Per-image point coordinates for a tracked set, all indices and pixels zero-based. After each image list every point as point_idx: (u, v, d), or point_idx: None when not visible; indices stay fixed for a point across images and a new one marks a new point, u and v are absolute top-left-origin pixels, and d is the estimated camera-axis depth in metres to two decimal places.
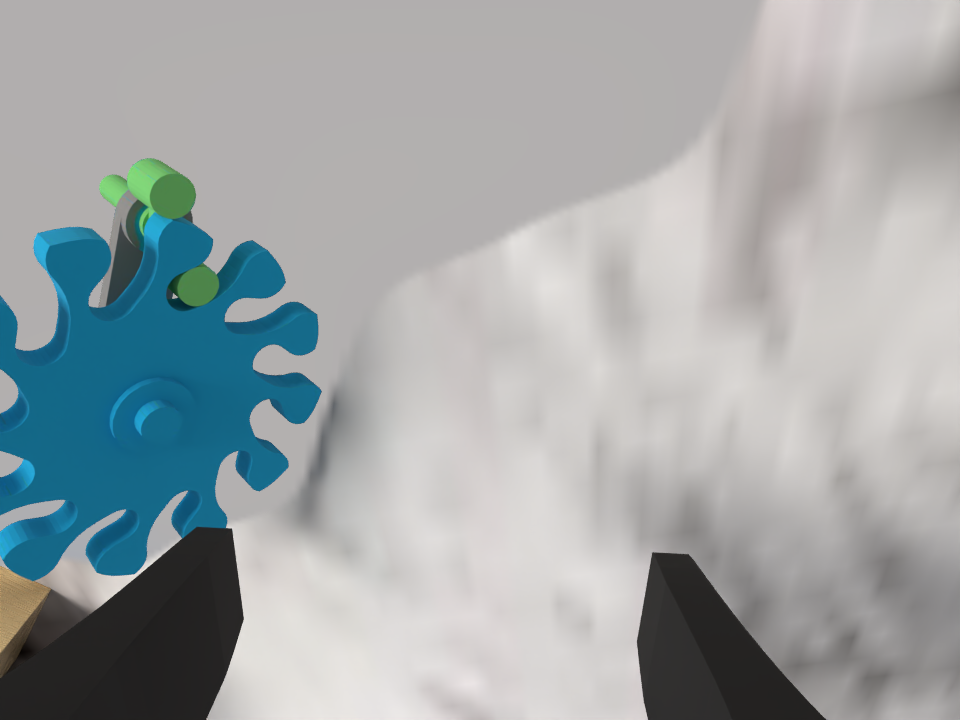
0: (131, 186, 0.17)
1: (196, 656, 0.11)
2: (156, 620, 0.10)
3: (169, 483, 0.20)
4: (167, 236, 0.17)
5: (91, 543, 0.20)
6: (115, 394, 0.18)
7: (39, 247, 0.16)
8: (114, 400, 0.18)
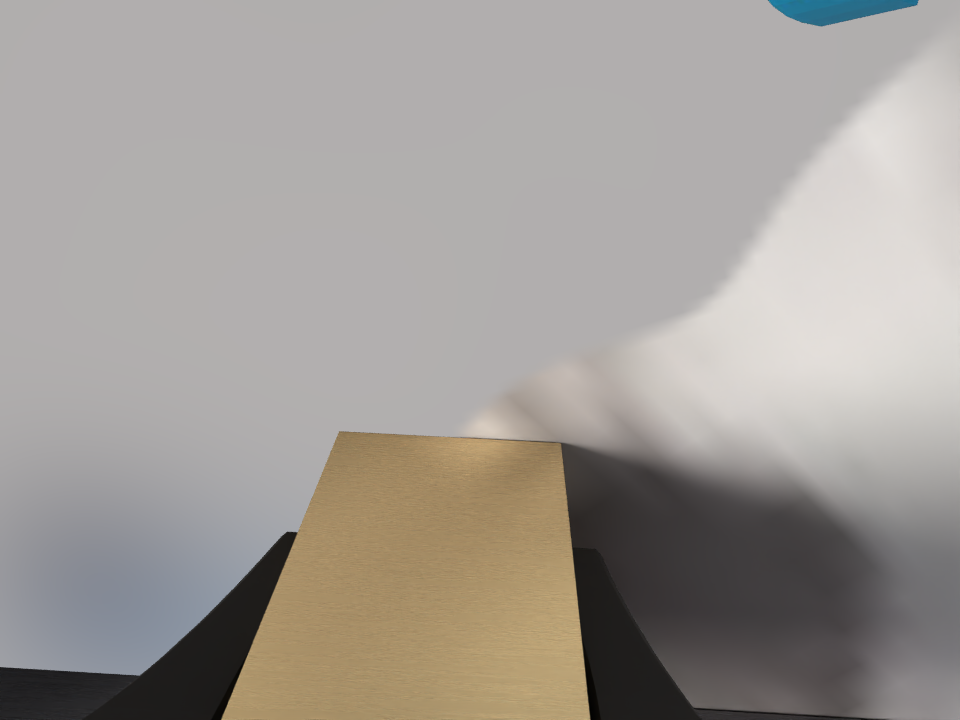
0: None
1: None
2: None
3: None
4: None
5: None
6: None
7: None
8: None
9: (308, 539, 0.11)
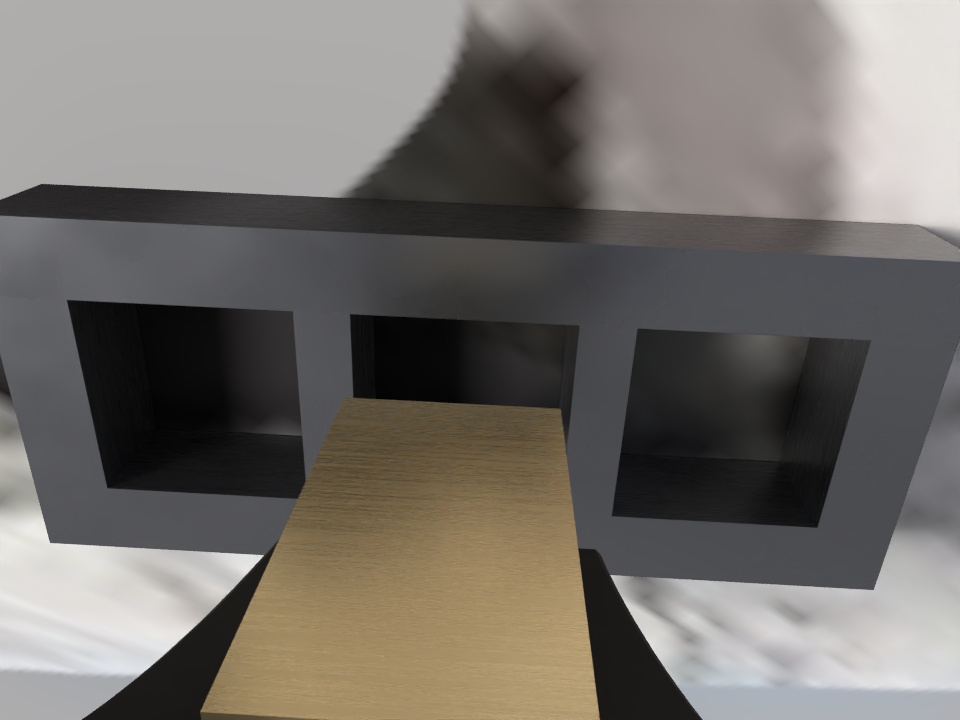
0: None
1: None
2: None
3: None
4: None
5: None
6: None
7: None
8: None
9: (315, 489, 0.11)
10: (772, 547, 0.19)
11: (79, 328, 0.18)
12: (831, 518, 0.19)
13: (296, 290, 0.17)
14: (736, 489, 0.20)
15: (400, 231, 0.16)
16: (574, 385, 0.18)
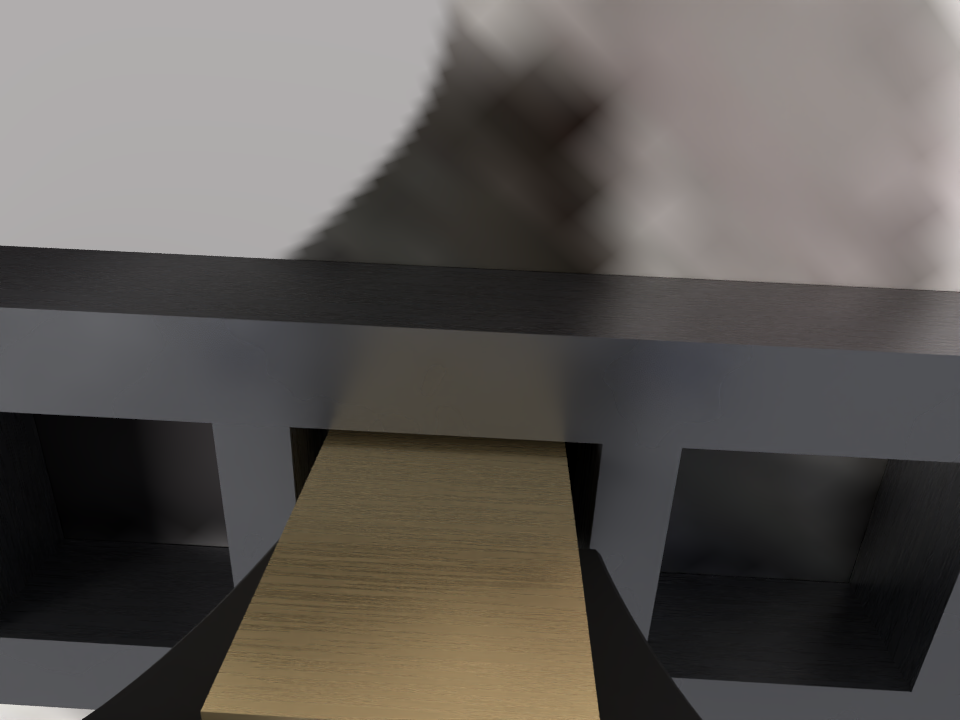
0: None
1: None
2: None
3: None
4: None
5: None
6: None
7: None
8: None
9: (315, 488, 0.11)
10: (850, 714, 0.15)
11: None
12: (931, 681, 0.14)
13: (215, 396, 0.12)
14: (799, 628, 0.16)
15: (355, 320, 0.12)
16: (594, 518, 0.13)
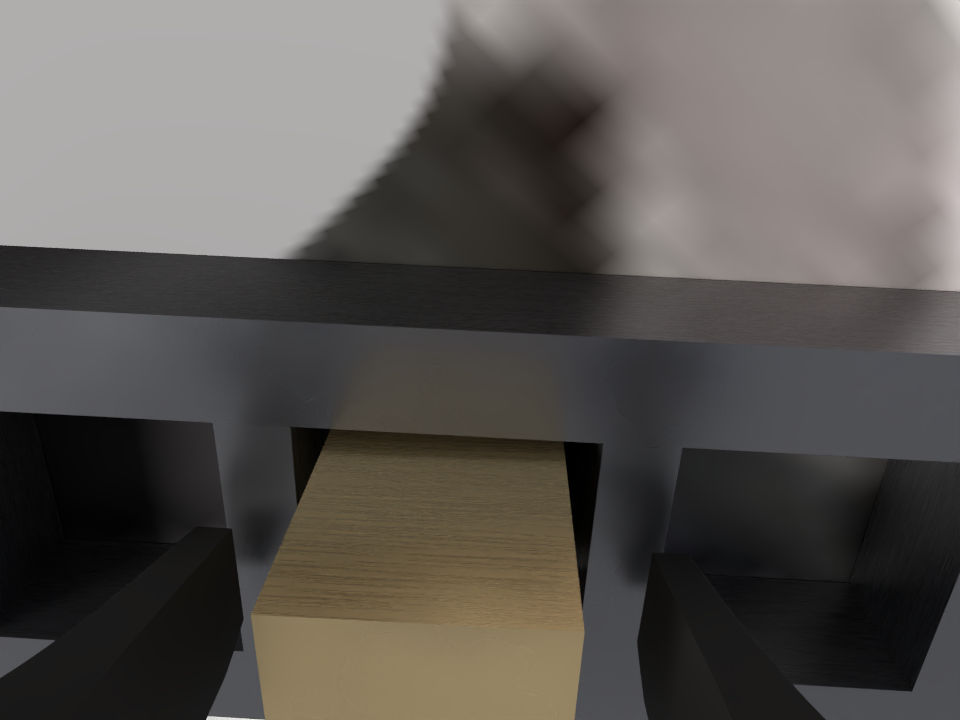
0: None
1: (196, 656, 0.11)
2: (156, 620, 0.10)
3: None
4: None
5: None
6: None
7: None
8: None
9: (337, 440, 0.13)
10: (851, 713, 0.15)
11: None
12: (931, 681, 0.14)
13: (216, 396, 0.12)
14: (799, 628, 0.16)
15: (356, 319, 0.12)
16: (595, 518, 0.13)
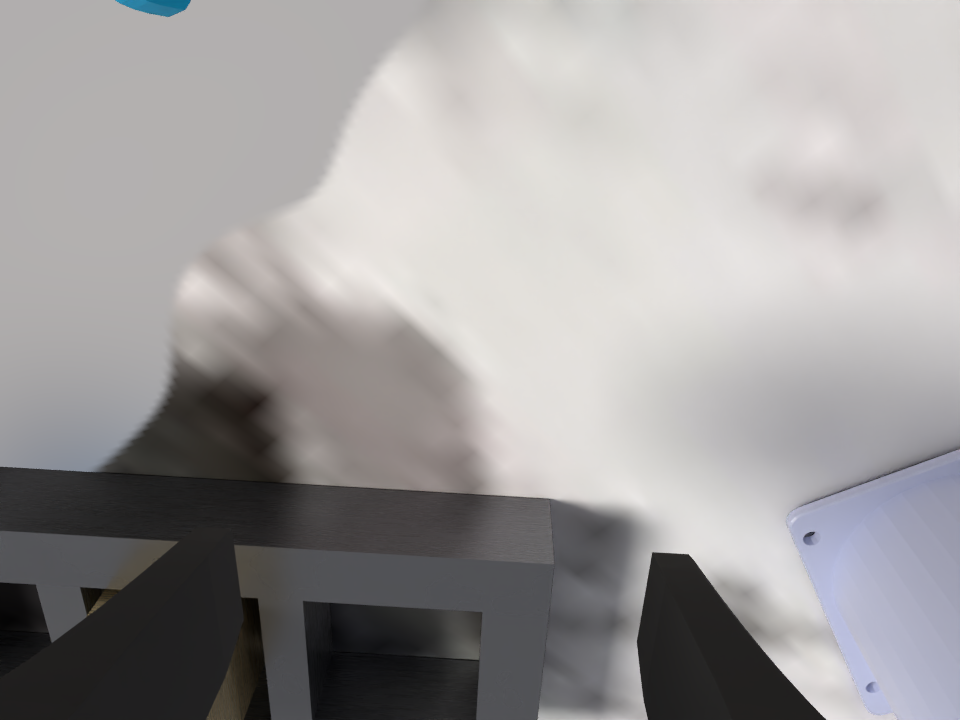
0: None
1: (196, 656, 0.11)
2: (156, 620, 0.10)
3: None
4: None
5: None
6: None
7: None
8: None
9: (108, 594, 0.22)
10: None
11: None
12: None
13: (35, 571, 0.22)
14: (428, 693, 0.25)
15: (110, 532, 0.21)
16: (262, 637, 0.22)
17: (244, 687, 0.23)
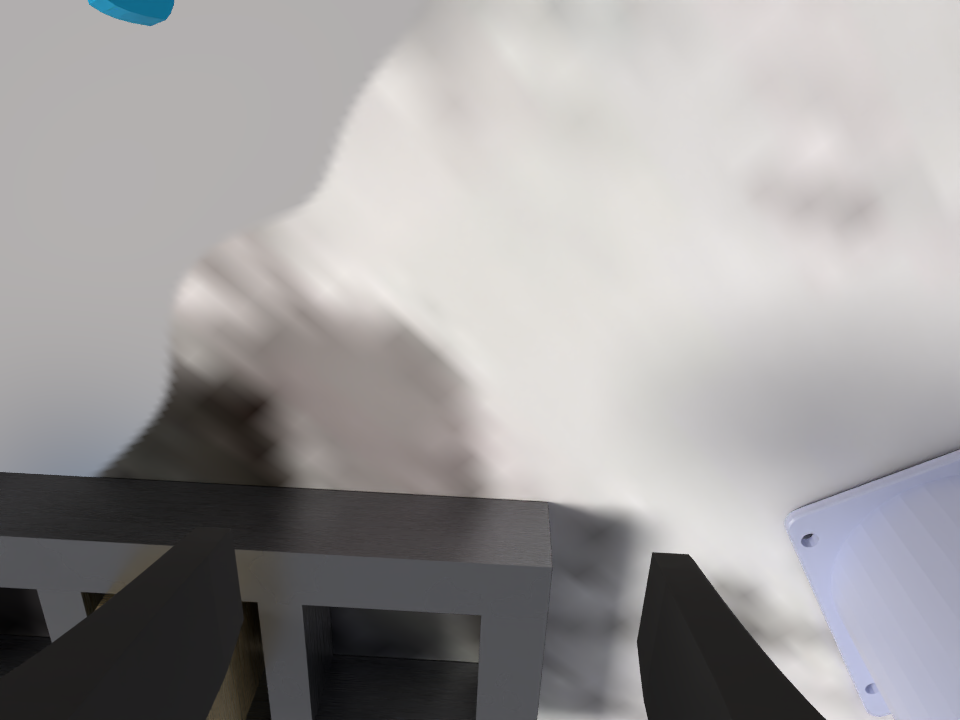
0: None
1: (196, 656, 0.11)
2: (156, 620, 0.10)
3: None
4: None
5: None
6: None
7: None
8: None
9: (109, 598, 0.22)
10: None
11: None
12: None
13: (36, 576, 0.22)
14: (428, 696, 0.25)
15: (111, 537, 0.21)
16: (262, 641, 0.22)
17: (245, 691, 0.23)
